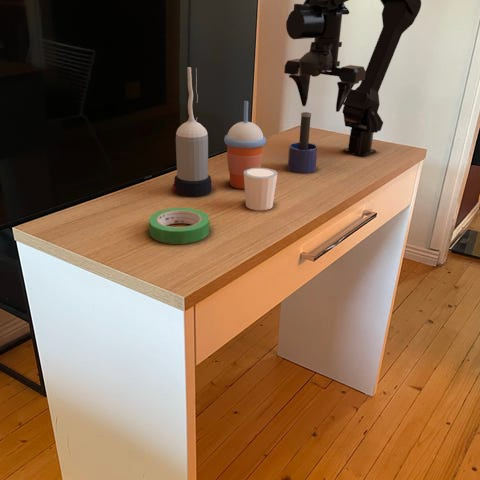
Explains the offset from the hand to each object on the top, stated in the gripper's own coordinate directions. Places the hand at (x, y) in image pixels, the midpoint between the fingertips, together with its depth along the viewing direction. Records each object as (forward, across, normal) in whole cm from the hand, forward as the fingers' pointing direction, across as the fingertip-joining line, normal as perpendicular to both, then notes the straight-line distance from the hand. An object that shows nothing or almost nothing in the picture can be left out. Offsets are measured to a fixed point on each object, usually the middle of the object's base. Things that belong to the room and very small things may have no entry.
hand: (320, 108), depth 139 cm
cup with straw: (+13, -4, -26) cm, 29 cm away
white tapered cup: (+13, +6, -34) cm, 37 cm away
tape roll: (+13, +2, -55) cm, 56 cm away
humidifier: (+13, -11, -36) cm, 40 cm away
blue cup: (+13, 0, -7) cm, 15 cm away
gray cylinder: (+12, 0, -7) cm, 14 cm away
